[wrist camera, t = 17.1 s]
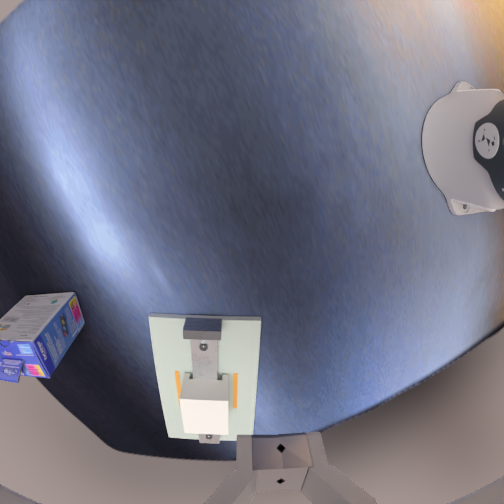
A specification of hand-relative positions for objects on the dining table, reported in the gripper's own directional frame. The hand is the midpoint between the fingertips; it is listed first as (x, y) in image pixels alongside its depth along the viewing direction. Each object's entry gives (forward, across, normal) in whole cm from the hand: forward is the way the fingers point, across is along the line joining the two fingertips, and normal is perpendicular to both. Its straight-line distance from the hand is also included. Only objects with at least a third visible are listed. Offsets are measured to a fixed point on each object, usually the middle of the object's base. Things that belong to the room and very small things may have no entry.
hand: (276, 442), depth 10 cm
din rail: (+26, +6, +22) cm, 34 cm away
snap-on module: (+26, +6, +22) cm, 34 cm away
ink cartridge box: (+27, +28, +11) cm, 40 cm away
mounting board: (+27, +6, +22) cm, 35 cm away
